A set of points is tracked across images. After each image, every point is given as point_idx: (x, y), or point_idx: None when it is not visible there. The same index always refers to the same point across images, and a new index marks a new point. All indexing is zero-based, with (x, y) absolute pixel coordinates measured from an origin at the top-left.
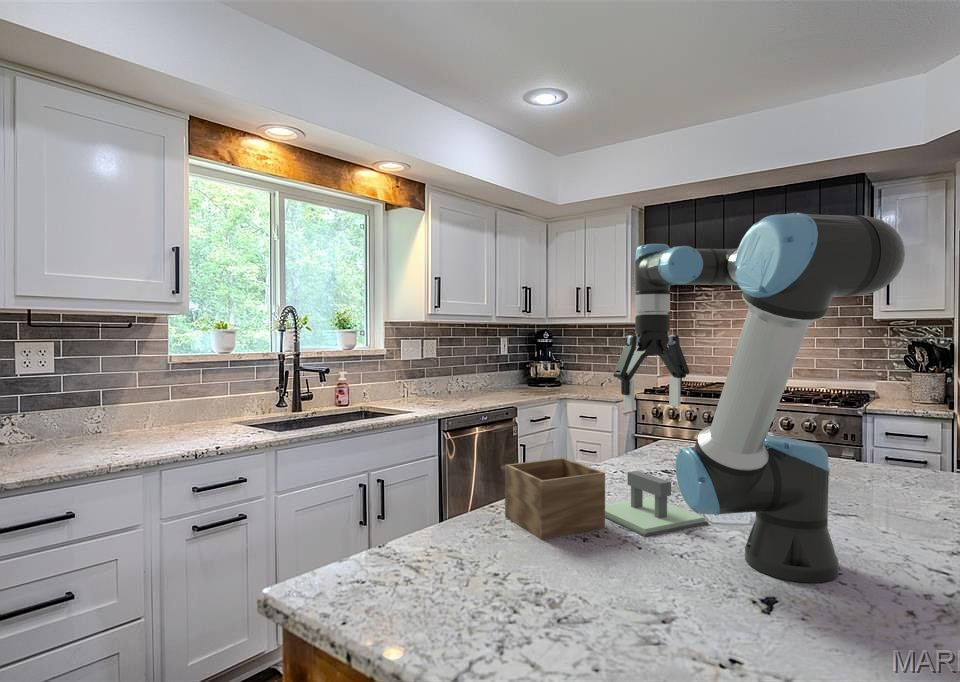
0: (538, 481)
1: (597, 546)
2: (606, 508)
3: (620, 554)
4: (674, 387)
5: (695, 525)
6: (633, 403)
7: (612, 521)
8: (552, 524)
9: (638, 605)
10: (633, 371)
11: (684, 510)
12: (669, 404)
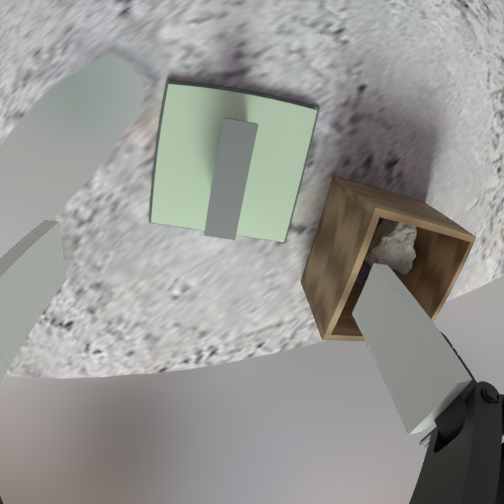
0: (471, 245)
1: (399, 135)
2: (278, 223)
3: (398, 96)
4: (5, 310)
5: (198, 83)
6: (392, 284)
7: (299, 187)
8: (423, 205)
9: (465, 30)
10: (488, 440)
11: (164, 131)
12: (64, 280)
